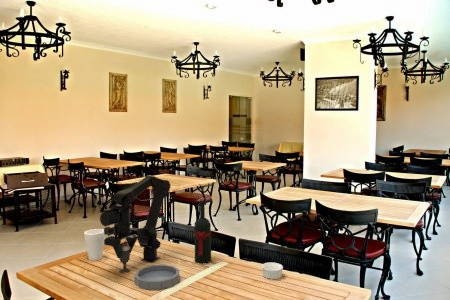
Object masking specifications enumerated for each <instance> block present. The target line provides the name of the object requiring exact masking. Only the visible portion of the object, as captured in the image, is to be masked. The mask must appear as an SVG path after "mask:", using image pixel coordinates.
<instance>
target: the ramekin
mask: <svg viewBox="0 0 450 300" xmlns="http://www.w3.org/2000/svg"><path fill="white" fill-rule="evenodd" d="M261 269H262V277H263V278H265V277H266V278H265V279H267V278H270V279H269V280H272V279H274V280H278V279H277V278H279V279H281V278H282V275H283V269H284V266H283V265H282V264H281V263H277V262H265V263H263V264H262V265H261ZM280 277H281V278H280Z"/></svg>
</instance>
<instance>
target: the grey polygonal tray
mask: <svg viewBox="0 0 450 300" xmlns="http://www.w3.org/2000/svg"><path fill="white" fill-rule="evenodd" d="M180 276H181V275H180V269H179V268H178V267H176V266H175V265H170V264H152V265H148V266H144V267H141V268H140V269H138V270H136V271H135V273H134V284H135V285H136V286H137V287H138V288H139V289H143V290H148V291H152V290H153V291H157V290H165V289H168V288H172V287H174V286H175V285H177V284H178V283H179V282H180Z"/></svg>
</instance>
